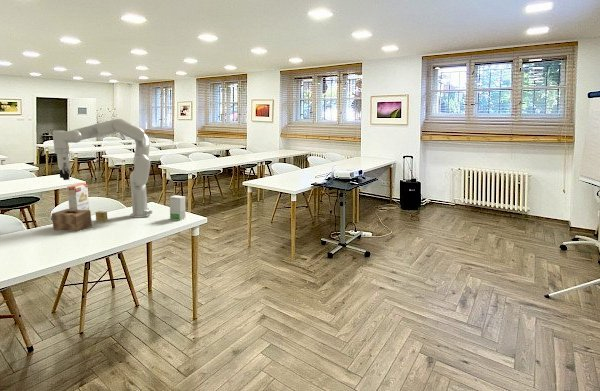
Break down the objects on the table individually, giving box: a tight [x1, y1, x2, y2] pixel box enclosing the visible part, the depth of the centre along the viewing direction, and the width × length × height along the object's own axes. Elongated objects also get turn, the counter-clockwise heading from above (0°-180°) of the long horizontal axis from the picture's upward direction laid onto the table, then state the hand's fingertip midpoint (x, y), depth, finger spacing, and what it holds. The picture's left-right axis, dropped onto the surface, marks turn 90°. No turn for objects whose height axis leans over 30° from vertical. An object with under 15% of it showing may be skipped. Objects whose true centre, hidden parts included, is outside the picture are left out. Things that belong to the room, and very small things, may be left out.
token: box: [95, 210, 109, 223], centre depth 243 cm, size 6×3×6 cm, turn 81°
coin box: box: [51, 208, 93, 233], centre depth 226 cm, size 16×12×10 cm
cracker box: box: [66, 182, 90, 210], centre depth 254 cm, size 14×6×21 cm, turn 179°
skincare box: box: [169, 194, 186, 221], centre depth 250 cm, size 8×7×16 cm
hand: (64, 178), depth 231 cm, fingers open, 9 cm apart
